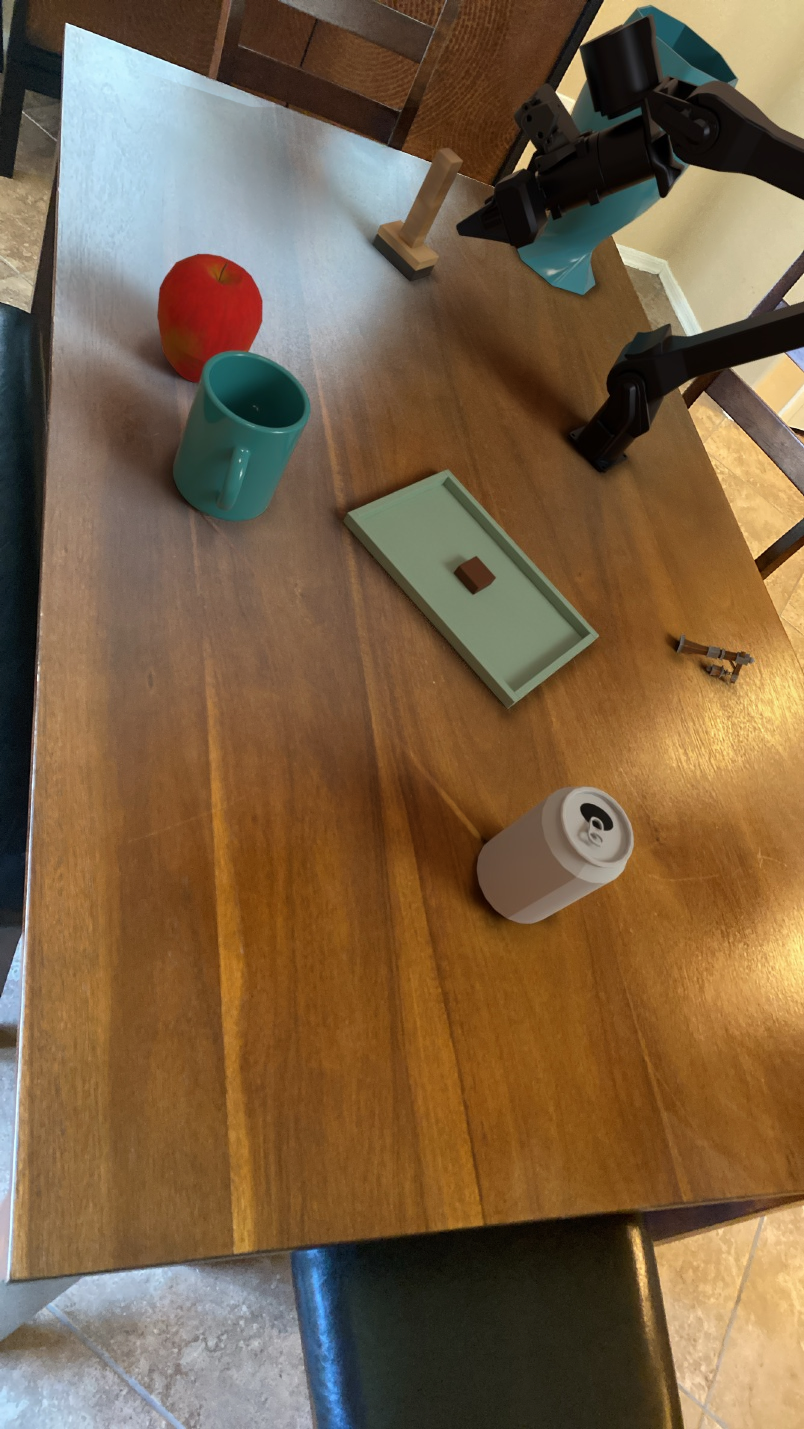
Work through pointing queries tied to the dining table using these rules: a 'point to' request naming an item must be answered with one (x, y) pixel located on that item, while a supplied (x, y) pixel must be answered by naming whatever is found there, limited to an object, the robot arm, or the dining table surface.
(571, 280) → the vase
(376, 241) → the brush
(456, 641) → the tray
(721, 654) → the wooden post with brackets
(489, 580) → the crumb
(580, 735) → the dining table surface
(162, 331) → the apple
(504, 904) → the can
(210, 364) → the cup
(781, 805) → the dining table surface
